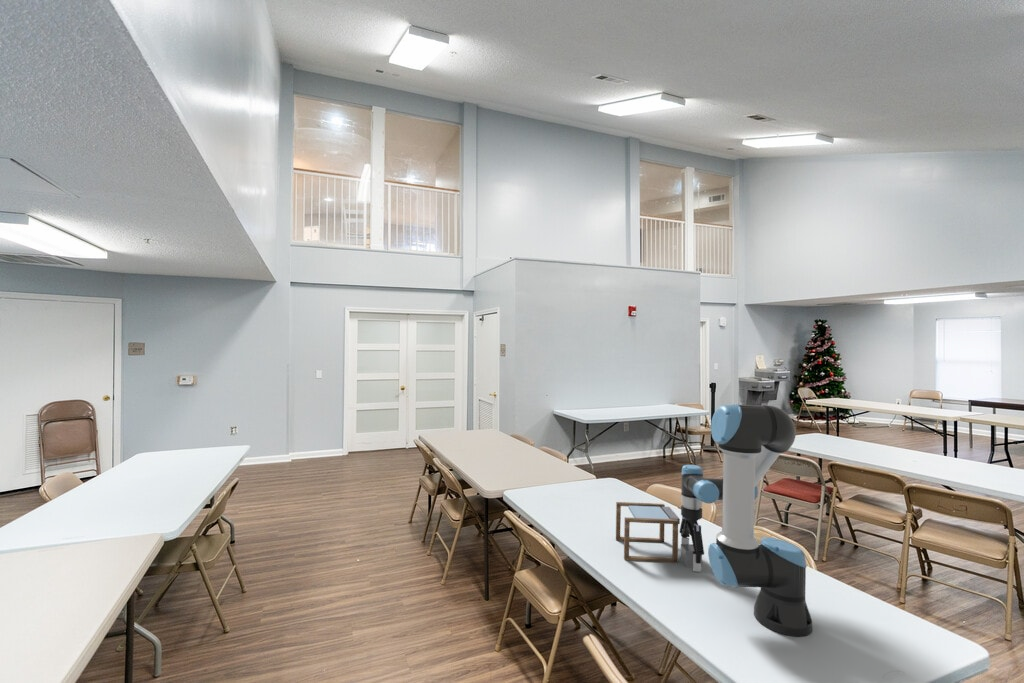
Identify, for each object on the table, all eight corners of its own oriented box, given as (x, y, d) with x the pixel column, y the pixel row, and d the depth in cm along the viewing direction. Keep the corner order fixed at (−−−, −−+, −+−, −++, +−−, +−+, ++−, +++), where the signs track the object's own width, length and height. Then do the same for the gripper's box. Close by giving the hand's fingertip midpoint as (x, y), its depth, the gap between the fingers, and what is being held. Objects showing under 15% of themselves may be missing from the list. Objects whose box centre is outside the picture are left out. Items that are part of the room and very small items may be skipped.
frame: (677, 562, 174) (678, 521, 174) (624, 560, 175) (625, 518, 175) (663, 540, 194) (663, 503, 194) (615, 538, 195) (616, 501, 195)
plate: (680, 525, 176) (680, 519, 176) (636, 523, 177) (636, 518, 177) (668, 510, 192) (668, 506, 192) (628, 509, 193) (628, 504, 193)
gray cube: (701, 567, 170) (702, 551, 171) (685, 566, 171) (685, 550, 171) (696, 560, 176) (696, 544, 177) (680, 559, 177) (680, 543, 177)
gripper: (714, 518, 162) (713, 579, 161) (690, 496, 186) (689, 548, 186) (692, 518, 162) (692, 578, 161) (672, 495, 187) (671, 547, 186)
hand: (690, 562), depth 174 cm, fingers open, 13 cm apart
